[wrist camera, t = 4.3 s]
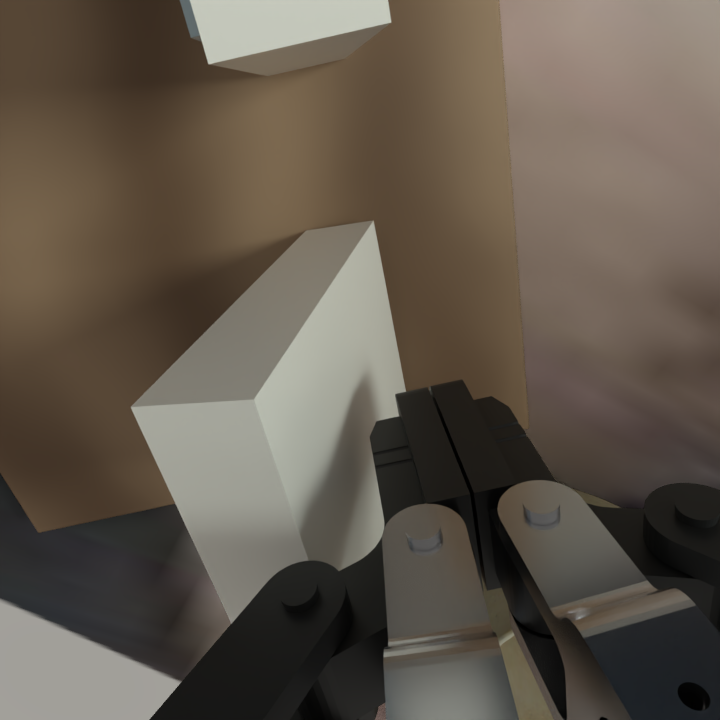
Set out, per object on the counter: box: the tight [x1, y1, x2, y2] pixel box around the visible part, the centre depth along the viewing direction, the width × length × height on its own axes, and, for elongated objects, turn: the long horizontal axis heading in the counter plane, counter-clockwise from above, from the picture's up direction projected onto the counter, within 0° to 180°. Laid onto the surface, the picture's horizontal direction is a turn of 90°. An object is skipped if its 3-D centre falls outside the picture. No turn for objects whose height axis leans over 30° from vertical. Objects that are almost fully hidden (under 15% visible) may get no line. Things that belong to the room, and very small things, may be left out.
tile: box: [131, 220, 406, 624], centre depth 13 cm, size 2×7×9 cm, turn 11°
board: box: [0, 0, 529, 533], centre depth 15 cm, size 18×21×1 cm
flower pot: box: [481, 488, 620, 720], centre depth 20 cm, size 10×10×7 cm
